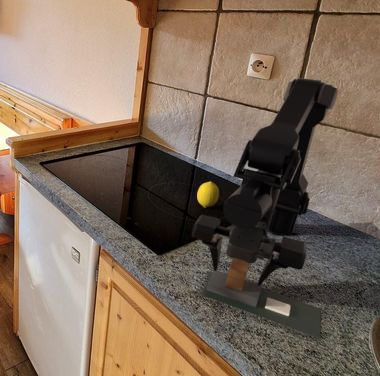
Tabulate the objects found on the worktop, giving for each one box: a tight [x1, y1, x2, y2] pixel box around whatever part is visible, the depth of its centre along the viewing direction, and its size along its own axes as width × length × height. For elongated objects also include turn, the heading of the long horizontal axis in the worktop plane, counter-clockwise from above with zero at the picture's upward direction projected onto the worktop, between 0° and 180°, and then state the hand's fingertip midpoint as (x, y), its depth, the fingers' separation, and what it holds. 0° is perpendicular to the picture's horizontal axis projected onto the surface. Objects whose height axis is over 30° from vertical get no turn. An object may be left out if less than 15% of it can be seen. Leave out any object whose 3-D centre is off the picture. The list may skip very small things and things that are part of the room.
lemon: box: [196, 181, 220, 209], centre depth 113 cm, size 6×6×8 cm
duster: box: [207, 258, 263, 307], centre depth 78 cm, size 9×5×11 cm, turn 57°
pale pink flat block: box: [265, 297, 291, 316], centre depth 76 cm, size 4×3×1 cm
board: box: [200, 271, 322, 339], centre depth 78 cm, size 20×9×1 cm, turn 57°
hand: (236, 277), depth 79 cm, fingers open, 7 cm apart
